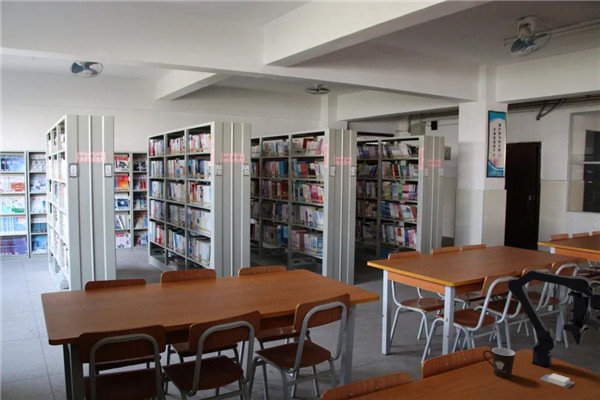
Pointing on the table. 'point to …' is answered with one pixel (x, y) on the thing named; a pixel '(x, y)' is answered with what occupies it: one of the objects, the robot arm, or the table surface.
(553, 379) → the tile
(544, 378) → the mat
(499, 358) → the coffee mug
